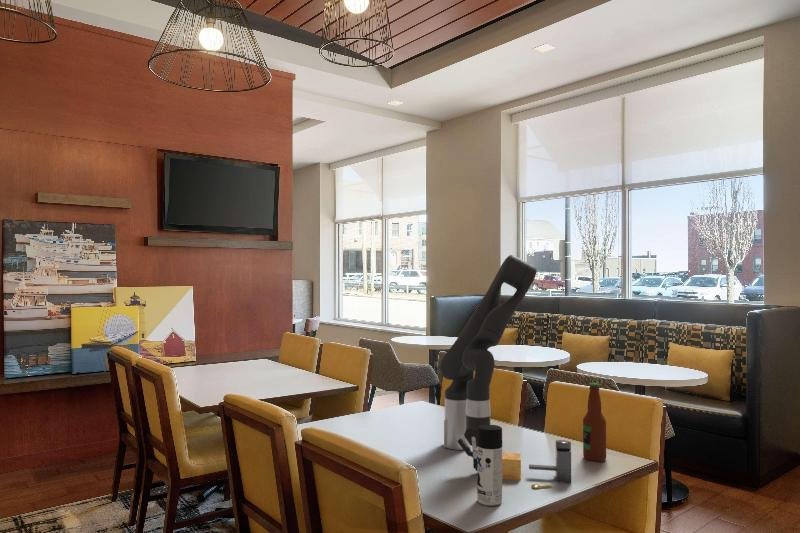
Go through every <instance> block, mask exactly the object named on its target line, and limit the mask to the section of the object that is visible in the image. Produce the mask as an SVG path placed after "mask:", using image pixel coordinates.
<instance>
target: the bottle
mask: <svg viewBox="0 0 800 533" xmlns="http://www.w3.org/2000/svg"><path fill="white" fill-rule="evenodd" d="M588 390H589V393H588V399H587V412H586V413H585V415H584V417H583V418H582V434H583V435H582V452H583V453H582V456H583V458H584V459H585V460H587V461H589V462H595V463H601V462H604V461H605V460H606V459H607V419H606V418H605V416H604V415H603V412H602V401H601V395H600V384H599V383H598V382H590V383H589V388H588Z"/></svg>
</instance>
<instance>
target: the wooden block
mask: <svg viewBox="0 0 800 533" xmlns="http://www.w3.org/2000/svg"><path fill="white" fill-rule="evenodd" d="M521 455H522V454H521V453H516V452H515V453H514V452H502V480H515V481H516V480H517V481H521V480H522V469H521V468H522V458H521V457H522V456H521Z"/></svg>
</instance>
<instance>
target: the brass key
mask: <svg viewBox="0 0 800 533" xmlns="http://www.w3.org/2000/svg"><path fill="white" fill-rule="evenodd" d="M552 486H553V485H552V484H551V483H544V484H543V483H541V484H540V483H539V484H538V483H531V489H534V490H541V489H547V488H549V489H550V488H553V487H552Z"/></svg>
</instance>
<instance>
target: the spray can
mask: <svg viewBox="0 0 800 533" xmlns="http://www.w3.org/2000/svg"><path fill="white" fill-rule="evenodd" d="M502 453H503V428H502V426H501V425H497V424H490V425H480V426H478V442H477V473H476V475H477V478H476V482H477V484H476V486H477V487H476V494H477V495H476V499H477V502H478V504H480V505H482V506H486V507H498V506H500V505H501V504H502V502H503V479H502Z"/></svg>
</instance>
